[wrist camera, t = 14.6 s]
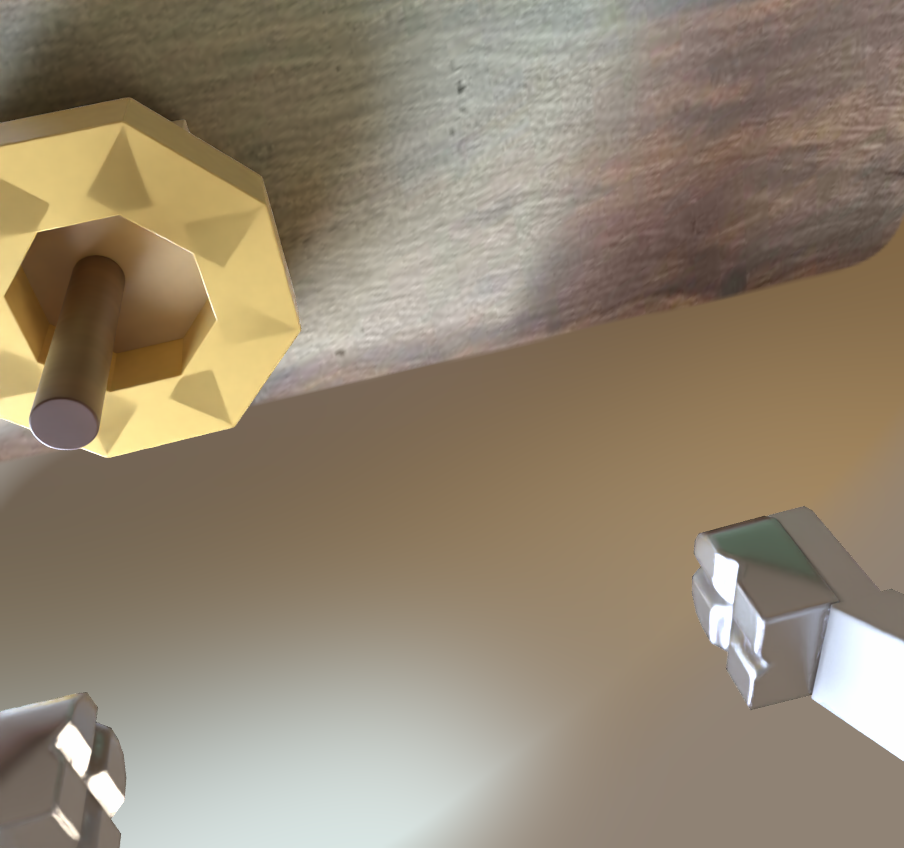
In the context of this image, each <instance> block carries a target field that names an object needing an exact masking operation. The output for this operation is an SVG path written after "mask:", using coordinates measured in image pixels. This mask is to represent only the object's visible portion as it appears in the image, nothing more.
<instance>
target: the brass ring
mask: <svg viewBox="0 0 904 848" xmlns="http://www.w3.org/2000/svg"><path fill="white" fill-rule="evenodd" d="M116 215H120V216H122V217H124V218H126V219H128V220H130V221H131V222H133V223H135V224H137V225H139V226H141V227H143V228H145V229H147V230H149V231H151V232H152V233H154V234H156V235H158V236H160V237H162V238H164V239H166V240H168V241H170V242H172V243H173V244H175V245H177V246H179V247H181V248H183V249H185V250H187V251H189V252H191V253H193V255H194V258H195V261H196V264H197V267H198V270H199V272H200V275H201V278H202V281H203V284H204V287H205V290H206V293H207V295H208V299H207V301H206V303H205V304H204V306H203V307H202V309H201V311H200V312H199V314H198V315H197V317H196V318H195V320H194V322H193V323H192V325H191V326H190V328H189V330H188V331H187V333H186V334H185V336H184V338H182V339H177V340H173V341H169V342H164V343H160V344H156V345H151V346H147V347H143V348H138V349H134V350H130V351H125V352H121V353H115V352H113V354H112V359H111V365H110V371H109V376H108V382H107V387H106V393H105V399H104V404H103V410H102V416H101V421H100V427H99V431H98V434H97V436H96V437H95V439H94V440H93V441H92V442H90V443H89V444H88V445H86V446H84V447H82V449H85V450H87V451H90V452H93V453H95V454H98V455H101V456H103V457H107V458H110V457H114V456H118V455H122V454H126V453H130V452H134V451H138V450H142V449H147V448H151V447H155V446H159V445H163V444H167V443H171V442H175V441H179V440H183V439H187V438H191V437H196V436H200V435H204V434H208V433H212V432H216V431H220V430H224V429H229V428H233V427H235V426H236V424H237V423H238V421H239V420H240V418H241V417H242V416H243V414H244V412H245V411H246V410H247V408H248V407H249V405H250V404H251V402H252V401H253V400H254V398H255V397H256V395H257V394H258V392H259V391H260V389H261V388H262V386H263V385H264V383H265V382H266V381H267V379H268V378H269V376H270V375H271V373H272V372H273V370H274V369H275V367H276V366H277V365H278V363H279V362H280V360H281V359H282V357H283V356H284V354H285V353H286V351H287V350H288V349H289V347H290V346H291V344H292V343H293V341H294V340H295V338H296V337H297V335H298V334H299V333H300V331H301V324H300V319H299V313H298V308H297V302H296V297H295V293H294V289H293V285H292V282H291V278H290V275H289V271H288V267H287V264H286V260H285V257H284V253H283V249H282V246H281V242H280V238H279V235H278V231H277V228H276V224H275V220H274V217H273V213H272V210H271V206H270V202H269V199H268V195H267V191H266V188H265V184H264V181H263V177H262V176H261V175H259V174H258V173H256V172H254V171H253V170H251V169H249V168H248V167H246V166H244V165H243V164H241V163H239V162H238V161H236V160H234V159H233V158H231V157H229V156H228V155H226V154H224V153H223V152H221V151H219V150H218V149H216V148H214V147H213V146H211V145H209V144H208V143H206V142H204V141H203V140H201V139H199V138H198V137H196V136H194V135H193V134H191V133H189V132H188V131H186V130H184V129H183V128H181V127H179V126H178V125H176V124H174V123H173V122H171V121H169V120H168V119H166V118H164V117H163V116H161V115H159V114H158V113H156V112H154V111H153V110H151V109H149V108H148V107H146V106H144V105H143V104H141V103H139V102H138V101H136V100H134V99H132V98H130V97H126V98H121V99H116V100H111V101H106V102H101V103H96V104H91V105H87V106H82V107H77V108H72V109H67V110H62V111H57V112H52V113H47V114H42V115H37V116H32V117H27V118H22V119H17V120H12V121H7V122H2V123H0V418H2V419H4V420H7V421H10V422H12V423H15V424H18V425H20V426H23V427H26V428H28V429H30V426H29V416H30V412H31V409H32V405H33V402H34V399H35V395H36V392H37V389H38V385H39V382H40V379H41V375H42V372H43V368H44V365H45V362H46V358H47V355H48V352H49V348H50V345H51V342H52V338H53V335H54V332H55V328H56V327H55V326H53V325H51V324H49V322H48V320H47V318H46V316H45V314H44V312H43V309H42V307H41V305H40V303H39V301H38V299H37V297H36V295H35V293H34V291H33V289H32V287H31V285H30V283H29V281H28V279H27V277H26V274H25V272H24V270H23V268H22V266H21V263H22V261H23V260H24V258H25V256H26V254H27V252H28V250H29V248H30V246H31V244H32V242H33V240H34V238H35V236H36V234H37V232H42V231H46V230H51V229H56V228H60V227H65V226H70V225H74V224H79V223H84V222H88V221H93V220H98V219H102V218H107V217H111V216H116Z"/></svg>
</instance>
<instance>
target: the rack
mask: <svg viewBox="0 0 904 848" xmlns="http://www.w3.org/2000/svg"><path fill="white" fill-rule="evenodd" d="M171 122H173V123H174V124H176V125H178V126H179V127H181V128H183V129H184V130H186V131H188V132H189V130H188V127H187V124H186V121H185V120H183V119H181V120H176V121H171ZM21 266H22V268H23V270H24V272H25V274H26V277H27V279H28V281H29V283H30V285H31V287H32V289H33V291H34V293H35V295H36V297H37V299H38V301H39V303H40V305H41V307H42V309H43V312H44V314H45V316H46V318H47V320H48V322H49V324H51V325H53V326H55V327H56V328H55V332H54V335H53V338H52V342H51V345H50V348H49V352H48V355H47V358H46V362H45V365H44V368H43V372H42V375H41V379H40V382H39V385H38V389H37V392H36V395H35V399H34V402H33V405H32V409H31V412H30V416H29V426H30V429H31V431H32V433H33V435H34V436H35V437H36V438H37V439H38V440H39V441H40V442H42V443H43V444H45V445H47V446H49V447H51V448H54V449H59V450H74V449H79V448H82V447H84V446H86V445H88V444H89V443H90V442H92V441H93V440H94V439H95V437H96V436H97V434H98V431H99V427H100V421H101V416H102V410H103V404H104V399H105V393H106V387H107V382H108V376H109V371H110V365H111V359H112V354H113V352H115V353H121V352H125V351H130V350H134V349H138V348H143V347H147V346H151V345H156V344H160V343H164V342H169V341H173V340H177V339H182V338H184V336H185V334H186V333H187V331H188V330H189V328H190V326H191V325H192V323H193V322H194V320H195V318H196V317H197V315H198V314H199V312H200V311H201V309H202V307H203V306H204V304H205V303H206V301H207V299H208V295H207V293H206V290H205V287H204V284H203V281H202V278H201V275H200V272H199V270H198V267H197V264H196V261H195V258H194V255H193V253H191V252H189V251H187V250H185V249H183V248H181V247H179V246H177V245H175V244H173V243H172V242H170V241H168V240H166V239H164V238H162V237H160V236H158V235H156V234H154V233H152V232H151V231H149V230H147V229H145V228H143V227H141V226H139V225H137V224H135V223H133V222H131V221H130V220H128V219H126V218H124V217H122V216H120V215H116V216H111V217H107V218H102V219H98V220H93V221H88V222H84V223H79V224H74V225H70V226H65V227H60V228H56V229H51V230H46V231H42V232H37V234H36V236H35V238H34V240H33V242H32V244H31V246H30V248H29V250H28V252H27V254H26V256H25V258H24V260H23V261H22V263H21Z"/></svg>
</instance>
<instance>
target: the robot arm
mask: <svg viewBox="0 0 904 848" xmlns="http://www.w3.org/2000/svg"><path fill="white" fill-rule="evenodd" d="M694 555H695V556H696V558H697V560H698V561H699V563H700V565H701V567H700V568H699V569H698V570H697V572H696V573H695V574H694V575H693V577H692V596H693V600H694V604H695V609H696V613H697V616H698V618H699V620H700V623H701V625H702V627H703V629H704V631H705V633H706V635H707V636H708V638H709V640H710V642H711V643H713V644H714V645H716V646H718V647H720V648H722V649H723V650H725V651H727V652H728V659H727V668H726V669H727V671H728V673H729V674H730V676H731V678H732V679H733V681H734V683H735V685H736V686H737V688H738V690H739V691H740V693H741V695H742V696H743V698H744V699H745V701H746V703H747V705H748V707H749V708H750V710H753V709H757V708H761V707H765V706H769V705H773V704H777V703H781V702H785V701H789V700H793V699H797V698H801V697H805V696H809V695H812V699H813V700H815V701H816V702H818V703H819V704H821V705H822V706H824V707H825V708H827V709H828V710H830V711H831V712H832V713H834V714H835V715H837V716H838V717H840V718H841V719H843V720H844V721H846V722H847V723H849V724H850V725H852V726H853V727H854V728H856V729H857V730H859V731H861V732H862V733H863V734H865V735H866V736H868V737H869V738H871V739H872V740H874V741H875V742H876V743H878V744H879V745H881V746H882V747H884V748H885V749H887V750H888V751H890V752H891V753H893V754H894V755H896V756H897V757H898V758H900V759H901V760H903V761H904V594H902V593H900V592H897V591H895V590H893V589H889V590H884V591H880V590H879V588H878V587H877V586H876V585H875V584H874V583H873V581H872V580H871V579H870V578H869V577H868V576H867V574H866V573H865V572H864V571H863V570H862V568H861V567H860V566H859V565H858V564H857V562H856V561H855V560H854V559H853V558H852V557H851V555H850V554H849V553H848V552H847V551H846V550H845V548H844V547H843V546H842V545H841V544H840V543H839V541H838V540H837V539H836V538H835V537H834V536H833V534H832V533H831V532H830V531H829V530H828V528H827V527H826V526H825V525H824V524H823V523H822V521H821V520H820V519H819V518H818V517H817V515H816V514H815V513H814V512H813V511H812V510H810V509H809V508H807V507H805V506H803V507H799V508H795V509H791V510H787V511H783V512H780V513H776V514H772V515H769V516H762V517H758V518H755V519H751V520H747V521H743V522H740V523H736V524H732V525H729V526H725V527H721V528H718V529H714V530H710V531H706V532H703V533H699V534H698V536H697V538H696V539H695V545H694ZM97 710H98V707H97V705H96V704H95V703H94V701H93V700H92V699H91V697H90V696H89V694H88V693H87V692H84V693H77V694H73V695H68V696H64V697H60V698H55V699H51V700H47V701H43V702H38V703H34V704H29V705H25V706H20V707H16V708H12V709H7V710H4V711H0V848H119V847H120V839H121V833H120V832H119V830H118V829H117V827H116V826H115V824H114V823H113V822H112V820H111V818H112V817H113V816H114V814H115V813H116V811H117V810H118V808H119V807H120V806H121V804H122V803H123V801H124V800H125V787H126V772H125V762H124V754H123V751H122V749H121V746H120V743H119V740H118V738H117V736H116V735H115V733H114V732H113V730H112V728H110V727H108V726H105V725H102V724H100V723H97V722H96V718H97Z"/></svg>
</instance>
